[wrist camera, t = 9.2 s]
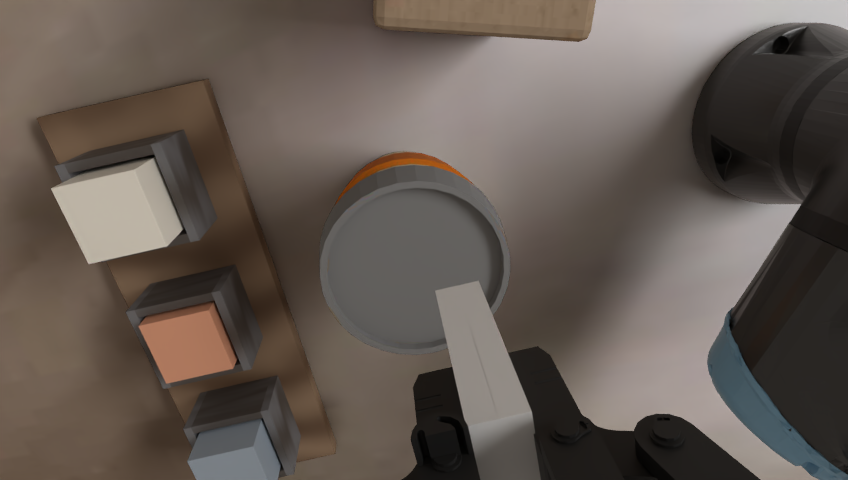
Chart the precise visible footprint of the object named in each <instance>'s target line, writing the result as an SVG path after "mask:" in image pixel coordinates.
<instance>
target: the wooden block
mask: <svg viewBox="0 0 848 480" xmlns="http://www.w3.org/2000/svg"><path fill="white" fill-rule="evenodd" d="M595 2H596V0H373V19H374V22H375V25H376V26H377V27H379V28H382V29H385V30H401V31H416V32H432V33H448V34H464V35H480V36H496V37H512V38H528V39H544V40H560V41H576V42H579V41H582V40H585V39H587V38H588V35H589V33H590V31H591V27H592V21H593V15H594V8H595Z"/></svg>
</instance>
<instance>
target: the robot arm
mask: <svg viewBox="0 0 848 480" xmlns="http://www.w3.org/2000/svg"><path fill="white" fill-rule="evenodd" d="M692 139H693V147H694V152H695V155H696V158H697V161H698V163H699V165H700V167H701V169H702V171H703V172H704V174H705V175H706V176H707V177H708V178H709V179H710V181H712V182H713V183H714V184H715V185H716V186H718V187H719V188H721V189H722V190H724V191H726V192H728V193H731V194H733V195H735V196H737V197H739V198H742V199H744V200H747V201H751V202H756V203H763V204H801V206H800V208H799V209H798V211H797V212H796V214H795V215H794V217H793V218H792V220H791V222H790V223H789V224H788V225H787V227H786V228H785V230H784V231H783V233H782V235H781V236H780V238H779V239H778V241H777V242H776V244H775V246H774V247H773V249H772V250H771V252H770V253H769V255H768V257H767V258H766V260H765V261H764V263H763V264H762V266H761V267H760V269H759V271H758V272H757V274H756V275H755V277H754V278H753V280H752V281H751V283H750V284H749V286H748V287H747V289H746V290H745V292H744V293H743V295H742V296H741V298H740V299H739V301H738V302H737V304H736V305H735V307H733V308H732V309H731V310H730V311H729V312H728V313H727V314H726V317H725V321H724V325H723V327H722V329H721V331H720V333H719V335H718V336H717V338H716V340H715V341H714V343H713V345H712V347H711V349H710V351H709V354H708V361H707V364H708V369H709V374H710V376H711V378H712V382H713V384H714V386H715V388H716V390H717V392H718V393H719V395H720V396H721V398H722V399H723V401H724V402H725V403H726V405H727V406H728V407H729V408H730V410H731V411H732V412H733V413H734V414H735V415H736V417H737V418H738V419H739V420H740V421H741V422H742V423H743V424H744V425H745V426H746V427H747V428H748V429H749V430H750V431H751V432H752V433H753V434H755V435H756V436H757V437H758V438H759V439H760V440H761V441H762V442H764V443H765V444H766V445H767V446H768V447H770V448H771V449H772V450H773V451H775V452H776V453H777V454H779V455H780V456H781V457H783V458H784V459H786V460H787V461H788V462H790V463H792V464H793V465H795V466H800V465H801V466H802V467H803V468H804V469H805V470H806V471H807V472H808V473H809V474H810V475H811V476H813V477H815V478H817V479H819V480H848V30H846V29H844V28H841V27H838V26H834V25H830V24H824V23H789V24H783V25H778V26H774V27H771V28H768V29H766V30H763V31H761V32H759V33H757V34H755V35H753V36H751V37H750V38H748V39H747V40H745V41H744V42H742V43H741V44H739V45H738V46H737V47H736V48H734V49H733V50H732V51H731V52H730V53H729V54H728V55H727V56H726V57H725V58H724V59H723V60H722V61H721V62H720V64H719V65H718V66H717V67H716V69H715V70H714V71H713V73H712V74H711V76H710V77H709V79H708V81H707V82H706V84H705V86H704V88H703V90H702V92H701V95H700V97H699V100H698V103H697V106H696V109H695V113H694V119H693V127H692ZM435 292H436V297H437V301H438V306H439V310H440V315H441V319H442V323H443V328H444V332H445V337H446V341H447V346H448V350H449V354H450V359H451V363H452V367H450V368H446V369H441V370H437V371H432V372H428V373H424V374H419V375H418V378H417V380H416V382H415V384H414V387H413V391H414V400H415V410H416V420H417V425H416V426H415V428H414V429H413V431H412V435H411V442H412V446H413V449H414V453H415V457H416V460H417V465H416V466H415V468H414V469H413V471H412V472H411V473H410V474H409V475H408V476H406V477H405V478H403V479H402V480H760V479H759V478H758V477H756V476H755V475H754V474H753V473H752V472H750V471H749V470H748V469H747V468H745V467H744V466H743V465H742V464H740V463H739V462H738V461H737V460H736V459H734V458H733V457H732V456H731V455H729V454H728V453H727V452H726V451H724V450H723V449H722V448H721V447H719V446H718V445H717V444H716V443H715V442H713V441H712V440H711V439H710V438H708V437H707V436H706V435H705V434H703V433H702V432H701V431H700V430H699V429H697V428H696V427H695V426H694V425H692V424H691V423H689V422H688V421H686V420H684V419H683V418H681V417H677V416H673V415H670V414H654V415H650V416H647V417H645V418H643V419H642V420H640V421H639V422H638V423H637V425H636V427H635V429H634V431H615V430H607V429H604V428H600V427H597V426H595V425H594V424H593V423H592V422H591V421H590V420H589V419H588V418H586V417H584V416H583V415H582V414H581V412H580V411H579V409H578V407H577V405H576V403H575V401H574V399H573V397H572V395H571V394H570V392H569V390H568V388H567V386H566V384H565V382H564V380H563V379H562V377H561V375H560V373H559V371H558V369H557V368H556V365H555V364H554V362H553V360H552V358H551V356H550V355H549V354H548V353H546V352H545V351H543V350H542V349H541V348H539V347H538V346H537V347H533V348H529V349H524V350H520V351H515V352H511V353H508V352H507V349H506V347H505V345H504V342H503V340H502V337H501V335H500V332H499V330H498V327H497V325H496V322H495V320H494V317H493V315H492V313H491V310H490V308H489V305H488V303H487V300H486V298H485V295H484V293H483V290H482V288H481V286H480V283H479V281H475V282H471V283H466V284H462V285H458V286H453V287H449V288H444V289H440V290H436V291H435Z"/></svg>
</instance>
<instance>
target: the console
mask: <svg viewBox="0 0 848 480" xmlns="http://www.w3.org/2000/svg"><path fill="white" fill-rule="evenodd" d="M37 120H38V122H39V124H40V126H41V128H42V130H43V133H44V135H45V137H46V139H47V141H48V143H49V145H50V147H51V149H52V151H53V153H54V155H55V157H56V159H57V161H58V163H59V164H58V165H56V166H54V167H55V169H56V171H57V173H58V175H59V177H60V179H61V181H62V183H63V182H65V181H67V180H69V179H71V178H73V177H75V176H77V175H79V174H81V173H83V172H85V171H87V170H89V169H93V168H97V167H102V166H106V165H111V164H115V163H119V162H124V161H128V160H133V159H137V158H142V157H146V156H150V155H155V157H156V159H157V162H158V164H159V167H160V169H161V171H162V174H163V176H164V179H165V181H166V184H167V186H168V188H169V191H170V193H171V196H172V198H173V201H174V203H175V206H176V208H177V210H178V213H179V215H180V218H181V220H182V223H183V225H184V227H185V228H184V229H183V230H182V231H181V232H180V233H179V234H178V236H177V237H176V238H175V239H174V240H173V241H172V242H171V243H170V244H169V245H168V246H167V247H162V248H158V249H153V250H149V251H144V252H140V253H136V254H131V255H127V256H122V257H118V258H114V259H109V260H105V261H101V262H107V264H108V266H109V268H110V271H111V273H112V275H113V277H114V279H115V281H116V283H117V285H118V287H119V289H120V291H121V293H122V295H123V297H124V299H125V301H126V303H127V306H128V308H129V309H128V310H127V311H126V314H127V316H128V318H129V320H130V322H131V324H132V326H133V328H134V330H135V332H136V334H137V336H138V338H139V340H140V342H141V345H142V347H143V349H144V351H145V353H146V355H147V357H148V359H149V361H150V363H151V365H152V367H153V369H154V371H155V373H156V375H157V377H158V379H159V381H160V383H161V385H162V387H163V389H166V388H168V390H169V392H170V394H171V396H172V398H173V400H174V402H175V404H176V406H177V409H178V411H179V413H180V415H181V417H182V419H183V421H184V423H185V426H184V428H183V430H184V432H185V434H186V436H187V438H188V440H189V443H190V445H191V447H192V449H193V447H194V445H195V442H196V440H197V438H198V435H199V433H200V432H203V431H208V430H212V429H216V428H221V427H225V426H230V425H234V424H239V423H243V422H247V421H252V420H256V419H261V418H263V420H264V422H265V424H266V427H267V429H268V432H269V434H270V437H271V439H272V441H273V444H274V446H275V449H276V451H277V454H278V456H279V458H280V461H281V467H280V471H279V476H278V478H279V477H283V476H288V475H292V474H294V471H295V466H296V462H300V461H305V460H309V459H313V458H318V457H322V456H327V455H331V454H335V452H336V441H335V438H334V435H333V432H332V429H331V426H330V424H329V421H328V418H327V415H326V412H325V409H324V406H323V404H322V401H321V398H320V395H319V392H318V389H317V387H316V384H315V381H314V378H313V375H312V372H311V369H310V367H309V364H308V361H307V358H306V355H305V352H304V350H303V347H302V344H301V341H300V338H299V335H298V333H297V330H296V327H295V324H294V321H293V318H292V315H291V313H290V310H289V307H288V304H287V301H286V298H285V296H284V293H283V290H282V287H281V284H280V281H279V278H278V276H277V273H276V270H275V267H274V264H273V261H272V259H271V256H270V253H269V250H268V247H267V244H266V241H265V239H264V236H263V233H262V230H261V227H260V224H259V222H258V219H257V216H256V213H255V210H254V207H253V205H252V202H251V199H250V196H249V193H248V190H247V187H246V185H245V182H244V179H243V176H242V173H241V170H240V168H239V165H238V162H237V159H236V156H235V153H234V150H233V148H232V145H231V142H230V139H229V136H228V133H227V131H226V128H225V125H224V122H223V119H222V116H221V113H220V111H219V108H218V105H217V102H216V99H215V96H214V94H213V91H212V88H211V85H210V82H209V79H205V80H201V81H196V82H192V83H187V84H183V85H179V86H174V87H170V88H165V89H161V90H156V91H152V92H148V93H143V94H139V95H134V96H130V97H125V98H121V99H117V100H112V101H108V102H103V103H99V104H94V105H90V106H86V107H81V108H77V109H72V110H68V111H63V112H59V113H55V114H50V115H46V116H42V117H39V118H37ZM214 300H215V303H216V305H217V308H218V310H219V313H220V315H221V317H222V320H223V322H224V325H225V327H226V330H227V332H228V334H229V337H230V339H231V342H232V344H233V347H234V349H235V351H236V354H237V356H238V358H237V361H236V363H235V366H234V368H233V369H229V370H225V371H220V372H216V373H212V374H207V375H203V376H198V377H194V378H190V379H185V380H181V381H176V382H172V383H167V384H166V382H165V380H164V378H163V376H162V374H161V372H160V370H159V368H158V366H157V363H156V361H155V359H154V357H153V355H152V353H151V351H150V349H149V347H148V345H147V343H146V341H145V339H144V337H143V335H142V333H141V330H140V328H139V325H140V323H141V322H142V321H143V320H144V318H145V317H146V316H148V315H152V314H156V313H161V312H165V311H170V310H174V309H178V308H183V307H187V306H192V305H196V304H201V303H205V302H209V301H214Z"/></svg>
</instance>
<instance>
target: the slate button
mask: <svg viewBox="0 0 848 480" xmlns="http://www.w3.org/2000/svg"><path fill="white" fill-rule="evenodd" d="M187 462H188V464H189V466H190V468H191V470H192V472H193V474H194V476H195V478H196V480H278V476H279V471H280V467H281V461H280V458H279V456H278V454H277V451H276V449H275V446H274V444H273V441H272V439H271V437H270V434H269V432H268V429H267V427H266V424H265V422H264V420H263V418H261V419H256V420H252V421H247V422H243V423H239V424H234V425H230V426H225V427H221V428H216V429H212V430H208V431H203V432H200V433H199V435H198V438H197V440H196V442H195V445H194V447H193V449H192V452H191V454H190V456H189V458H188V461H187Z"/></svg>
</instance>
